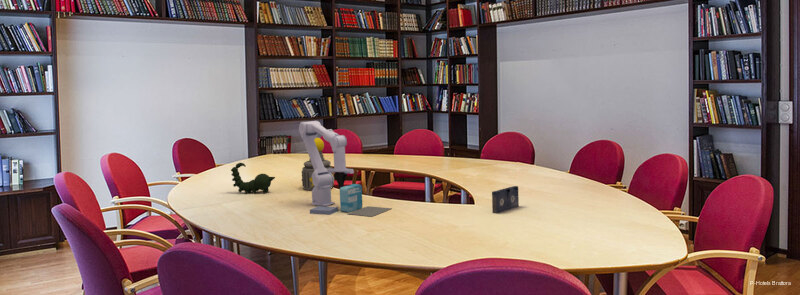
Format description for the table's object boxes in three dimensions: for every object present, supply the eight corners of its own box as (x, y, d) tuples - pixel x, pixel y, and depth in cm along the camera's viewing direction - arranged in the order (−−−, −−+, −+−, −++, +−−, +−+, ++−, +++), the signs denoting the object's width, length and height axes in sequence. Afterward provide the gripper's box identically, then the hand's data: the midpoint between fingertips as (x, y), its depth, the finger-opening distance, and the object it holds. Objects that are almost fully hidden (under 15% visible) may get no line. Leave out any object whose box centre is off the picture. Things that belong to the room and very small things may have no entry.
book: (310, 214, 301) (309, 209, 301) (318, 210, 308) (318, 206, 308) (330, 215, 297) (329, 210, 296) (338, 212, 304) (337, 207, 304)
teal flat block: (347, 213, 299) (346, 188, 298) (340, 212, 302) (339, 187, 300) (362, 208, 309) (361, 184, 308) (355, 207, 311) (354, 183, 310)
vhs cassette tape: (514, 206, 301) (514, 185, 300) (519, 206, 299) (519, 186, 298) (491, 212, 288) (490, 191, 287) (496, 213, 286) (496, 192, 285)
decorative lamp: (297, 191, 361) (295, 139, 357) (308, 185, 379) (305, 136, 376) (329, 191, 358) (326, 138, 354) (338, 185, 376) (335, 135, 373)
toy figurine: (232, 197, 358) (274, 193, 354) (227, 165, 356) (269, 160, 352) (238, 194, 367) (279, 190, 364) (233, 162, 365) (275, 157, 362)
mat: (347, 214, 296) (347, 213, 296) (367, 206, 311) (367, 206, 311) (372, 216, 289) (372, 216, 289) (391, 208, 304) (391, 208, 304)
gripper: (356, 159, 307) (357, 186, 308) (332, 158, 314) (333, 185, 316) (348, 161, 301) (350, 189, 302) (323, 160, 308) (325, 187, 309)
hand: (341, 187), depth 309 cm, fingers closed
